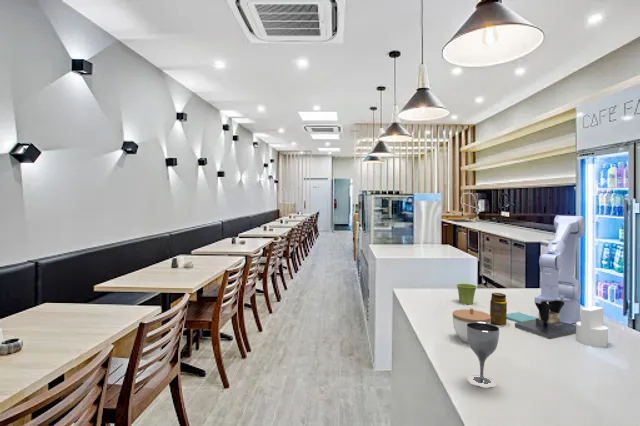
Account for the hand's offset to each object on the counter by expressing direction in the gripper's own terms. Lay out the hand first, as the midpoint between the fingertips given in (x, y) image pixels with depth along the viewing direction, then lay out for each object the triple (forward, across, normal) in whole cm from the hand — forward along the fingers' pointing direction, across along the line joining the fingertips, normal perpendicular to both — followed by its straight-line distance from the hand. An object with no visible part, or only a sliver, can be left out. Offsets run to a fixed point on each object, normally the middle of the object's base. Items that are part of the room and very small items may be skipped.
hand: (549, 319), depth 143 cm
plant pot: (+4, 0, +42) cm, 42 cm away
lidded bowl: (+4, -37, +3) cm, 37 cm away
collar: (0, 0, 0) cm, 0 cm away
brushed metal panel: (+4, 0, 0) cm, 4 cm away
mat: (+4, +2, +14) cm, 15 cm away
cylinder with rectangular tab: (+4, +1, -15) cm, 15 cm away
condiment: (+4, -13, +13) cm, 19 cm away
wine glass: (+4, -59, -22) cm, 63 cm away
